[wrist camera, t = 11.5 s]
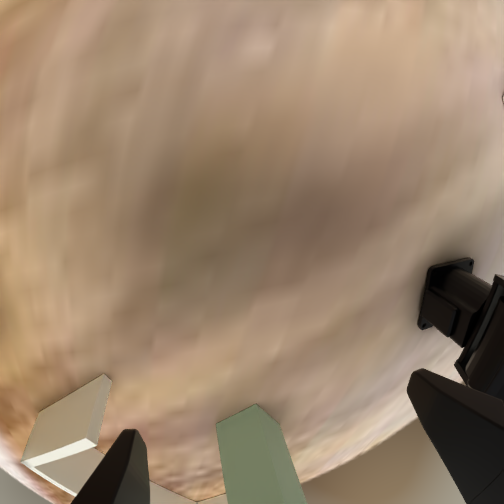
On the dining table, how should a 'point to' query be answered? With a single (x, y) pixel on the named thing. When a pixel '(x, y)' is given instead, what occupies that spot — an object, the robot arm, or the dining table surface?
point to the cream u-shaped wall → (80, 443)
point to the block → (257, 460)
